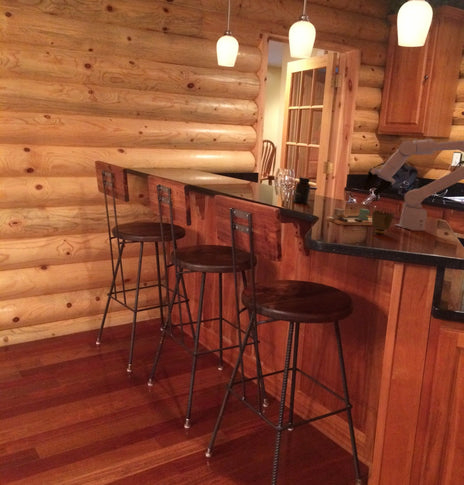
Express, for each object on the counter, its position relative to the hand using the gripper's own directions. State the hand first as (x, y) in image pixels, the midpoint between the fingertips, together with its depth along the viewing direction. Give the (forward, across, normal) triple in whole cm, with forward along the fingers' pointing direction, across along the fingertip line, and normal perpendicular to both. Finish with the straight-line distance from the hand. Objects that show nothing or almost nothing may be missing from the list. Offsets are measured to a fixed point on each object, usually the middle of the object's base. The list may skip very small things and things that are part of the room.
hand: (369, 191), depth 215 cm
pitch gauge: (+11, +8, +11) cm, 17 cm away
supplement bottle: (+28, 0, -27) cm, 39 cm away
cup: (+4, +15, +28) cm, 33 cm away
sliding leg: (+8, +4, +11) cm, 14 cm away
